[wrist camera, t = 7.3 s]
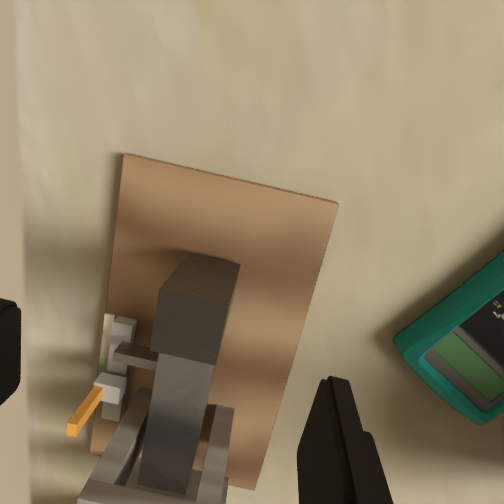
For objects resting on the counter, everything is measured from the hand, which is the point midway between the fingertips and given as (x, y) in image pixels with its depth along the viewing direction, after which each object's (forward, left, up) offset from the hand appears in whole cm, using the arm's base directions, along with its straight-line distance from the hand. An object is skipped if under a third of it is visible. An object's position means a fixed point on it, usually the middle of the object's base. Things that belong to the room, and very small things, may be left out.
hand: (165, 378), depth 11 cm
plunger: (+6, -2, -10) cm, 12 cm away
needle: (+9, -5, -9) cm, 14 cm away
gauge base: (+5, 0, -12) cm, 13 cm away
